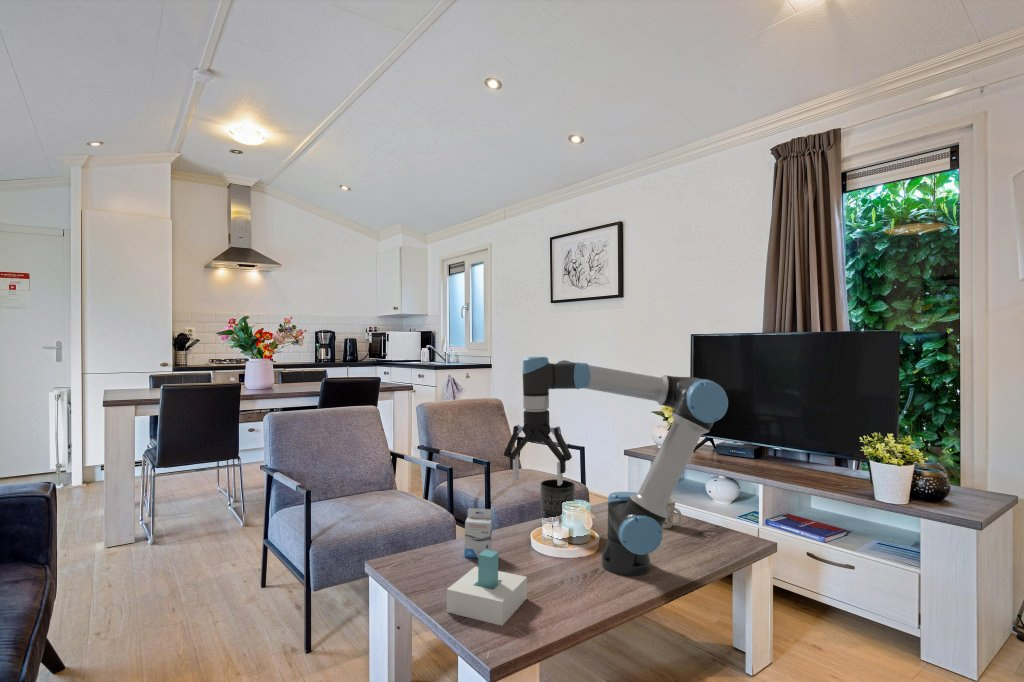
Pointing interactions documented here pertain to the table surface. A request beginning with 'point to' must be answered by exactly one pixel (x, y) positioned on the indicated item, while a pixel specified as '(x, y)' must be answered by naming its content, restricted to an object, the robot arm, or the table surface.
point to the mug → (671, 514)
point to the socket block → (487, 597)
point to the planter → (555, 496)
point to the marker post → (488, 569)
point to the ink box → (478, 532)
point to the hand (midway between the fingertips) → (537, 482)
